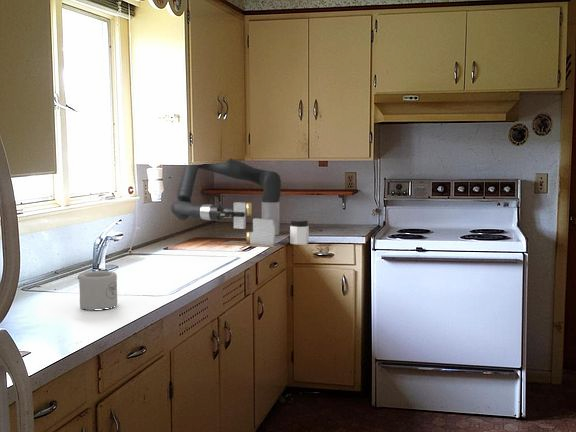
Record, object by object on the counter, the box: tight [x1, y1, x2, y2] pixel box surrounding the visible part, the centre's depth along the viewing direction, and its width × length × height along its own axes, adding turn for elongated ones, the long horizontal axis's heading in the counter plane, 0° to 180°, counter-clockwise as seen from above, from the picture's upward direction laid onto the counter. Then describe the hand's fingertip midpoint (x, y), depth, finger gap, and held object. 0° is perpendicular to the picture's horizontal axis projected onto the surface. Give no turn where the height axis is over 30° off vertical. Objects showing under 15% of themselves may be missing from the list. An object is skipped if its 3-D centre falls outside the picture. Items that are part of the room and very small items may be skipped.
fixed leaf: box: [245, 217, 276, 246], centre depth 319 cm, size 3×14×12 cm, turn 70°
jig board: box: [220, 240, 281, 248], centre depth 322 cm, size 12×26×1 cm, turn 71°
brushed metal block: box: [233, 201, 253, 230], centre depth 321 cm, size 8×3×12 cm, turn 70°
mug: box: [78, 270, 118, 311], centre depth 206 cm, size 14×11×10 cm
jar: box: [289, 218, 310, 245], centre depth 325 cm, size 9×8×12 cm
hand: (245, 214), depth 321 cm, fingers closed on brushed metal block, 2 cm apart
